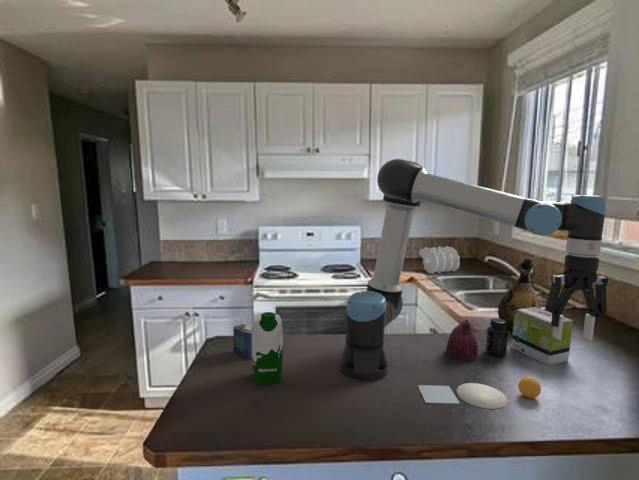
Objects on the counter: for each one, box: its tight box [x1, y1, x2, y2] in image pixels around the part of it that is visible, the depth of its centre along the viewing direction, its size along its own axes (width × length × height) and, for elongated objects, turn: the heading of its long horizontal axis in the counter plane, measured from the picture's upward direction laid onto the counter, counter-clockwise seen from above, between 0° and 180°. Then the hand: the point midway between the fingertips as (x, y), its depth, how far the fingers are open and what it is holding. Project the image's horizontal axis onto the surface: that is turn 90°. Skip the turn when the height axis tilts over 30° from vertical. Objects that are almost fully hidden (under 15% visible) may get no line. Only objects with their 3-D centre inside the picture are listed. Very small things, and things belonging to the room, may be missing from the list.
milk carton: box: [251, 311, 284, 386], centre depth 114 cm, size 9×9×20 cm
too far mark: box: [417, 384, 461, 405], centre depth 109 cm, size 9×9×1 cm
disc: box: [456, 382, 508, 410], centre depth 109 cm, size 13×13×1 cm
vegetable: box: [445, 318, 479, 362], centre depth 133 cm, size 10×10×15 cm
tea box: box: [510, 307, 574, 366], centre depth 136 cm, size 15×10×15 cm, turn 23°
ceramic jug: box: [497, 256, 542, 335], centre depth 157 cm, size 17×15×30 cm
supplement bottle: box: [484, 317, 509, 359], centre depth 136 cm, size 7×7×12 cm
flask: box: [232, 323, 252, 360], centre depth 130 cm, size 9×3×11 cm, turn 50°
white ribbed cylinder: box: [418, 245, 461, 275], centre depth 261 cm, size 18×18×25 cm
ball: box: [518, 376, 542, 399], centre depth 108 cm, size 6×6×6 cm
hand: (572, 338), depth 106 cm, fingers open, 8 cm apart
